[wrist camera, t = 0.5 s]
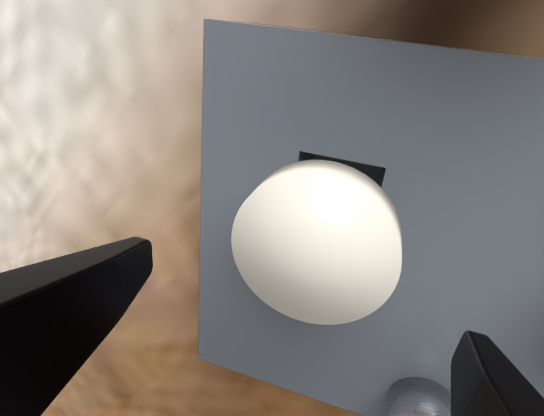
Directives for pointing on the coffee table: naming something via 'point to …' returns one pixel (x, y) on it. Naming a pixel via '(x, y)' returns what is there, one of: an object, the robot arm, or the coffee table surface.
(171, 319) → the coffee table surface
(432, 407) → the potentiometer
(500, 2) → the coffee table surface
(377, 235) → the knob
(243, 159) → the console block
